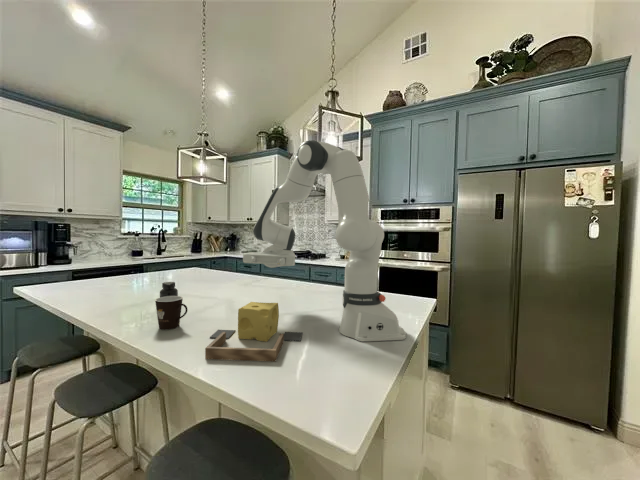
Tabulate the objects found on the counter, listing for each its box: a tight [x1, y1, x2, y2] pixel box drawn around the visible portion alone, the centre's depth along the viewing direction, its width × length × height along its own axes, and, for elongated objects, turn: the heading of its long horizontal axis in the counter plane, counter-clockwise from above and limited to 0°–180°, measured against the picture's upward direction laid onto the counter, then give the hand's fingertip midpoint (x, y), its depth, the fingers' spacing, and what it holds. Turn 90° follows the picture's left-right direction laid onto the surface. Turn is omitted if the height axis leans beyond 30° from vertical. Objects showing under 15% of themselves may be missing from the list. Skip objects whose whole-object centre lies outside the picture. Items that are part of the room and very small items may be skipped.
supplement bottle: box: [159, 281, 179, 298], centre depth 122 cm, size 7×7×12 cm
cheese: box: [237, 301, 280, 343], centre depth 97 cm, size 10×11×10 cm
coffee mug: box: [154, 295, 188, 331], centre depth 102 cm, size 12×9×10 cm
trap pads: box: [209, 329, 304, 342], centre depth 96 cm, size 29×7×1 cm, turn 88°
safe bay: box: [204, 332, 284, 363], centre depth 84 cm, size 19×12×3 cm, turn 88°
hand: (266, 261), depth 108 cm, fingers open, 8 cm apart
